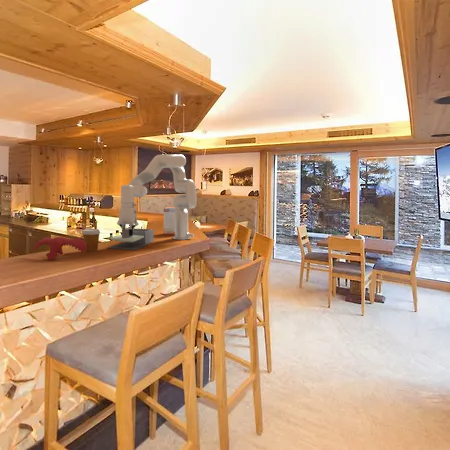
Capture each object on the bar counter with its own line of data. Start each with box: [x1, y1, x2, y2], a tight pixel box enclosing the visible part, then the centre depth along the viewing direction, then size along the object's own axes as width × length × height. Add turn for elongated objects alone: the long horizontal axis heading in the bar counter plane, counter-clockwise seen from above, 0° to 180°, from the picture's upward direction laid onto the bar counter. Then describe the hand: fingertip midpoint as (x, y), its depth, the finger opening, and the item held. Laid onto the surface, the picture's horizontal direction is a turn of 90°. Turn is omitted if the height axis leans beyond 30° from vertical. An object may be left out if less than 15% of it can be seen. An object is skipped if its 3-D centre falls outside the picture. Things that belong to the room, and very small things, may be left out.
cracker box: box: [163, 206, 175, 236], centre depth 257 cm, size 14×6×21 cm, turn 84°
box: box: [124, 227, 154, 245], centre depth 219 cm, size 14×14×8 cm
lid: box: [110, 227, 144, 243], centre depth 202 cm, size 15×15×7 cm
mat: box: [106, 242, 149, 251], centre depth 203 cm, size 18×18×1 cm
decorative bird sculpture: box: [32, 236, 87, 261], centre depth 169 cm, size 28×9×15 cm
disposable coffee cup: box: [81, 228, 101, 253], centre depth 188 cm, size 10×10×12 cm
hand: (127, 235), depth 202 cm, fingers closed on lid, 3 cm apart
